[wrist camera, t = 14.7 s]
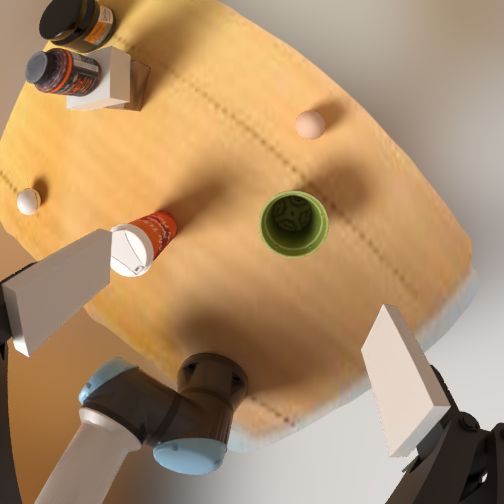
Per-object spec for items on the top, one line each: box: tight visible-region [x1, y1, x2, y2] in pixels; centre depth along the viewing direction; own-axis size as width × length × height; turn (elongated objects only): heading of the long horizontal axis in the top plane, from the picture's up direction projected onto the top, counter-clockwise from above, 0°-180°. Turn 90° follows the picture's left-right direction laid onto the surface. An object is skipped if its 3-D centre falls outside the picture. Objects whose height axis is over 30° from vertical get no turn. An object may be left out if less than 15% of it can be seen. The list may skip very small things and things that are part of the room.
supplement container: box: [39, 0, 116, 53], centre depth 35 cm, size 10×10×12 cm
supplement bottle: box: [25, 48, 101, 97], centre depth 28 cm, size 6×6×11 cm
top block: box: [67, 46, 131, 111], centre depth 36 cm, size 8×8×6 cm
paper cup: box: [110, 212, 177, 277], centre depth 46 cm, size 8×8×14 cm
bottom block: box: [103, 60, 151, 111], centre depth 42 cm, size 8×8×6 cm
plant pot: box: [259, 191, 329, 258], centre depth 45 cm, size 9×9×9 cm
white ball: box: [17, 178, 41, 215], centre depth 50 cm, size 8×6×6 cm
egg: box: [295, 111, 325, 140], centre depth 42 cm, size 4×4×6 cm
